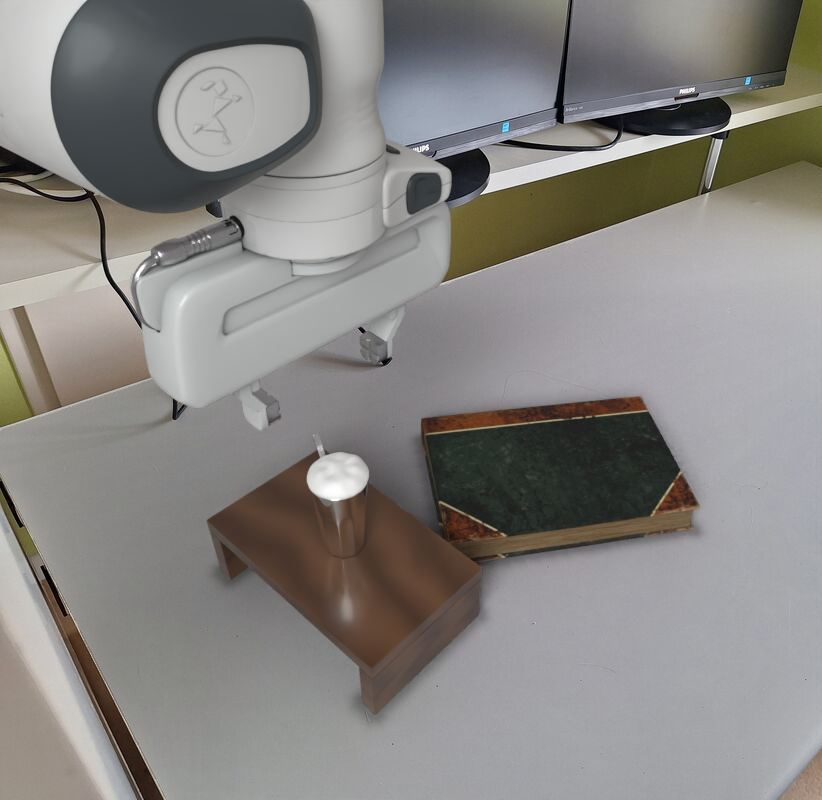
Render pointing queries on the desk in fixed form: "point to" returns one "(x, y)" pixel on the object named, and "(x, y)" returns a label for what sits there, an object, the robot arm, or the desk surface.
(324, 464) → the milkshake
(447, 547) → the riser shelf
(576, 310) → the desk surface
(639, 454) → the book
